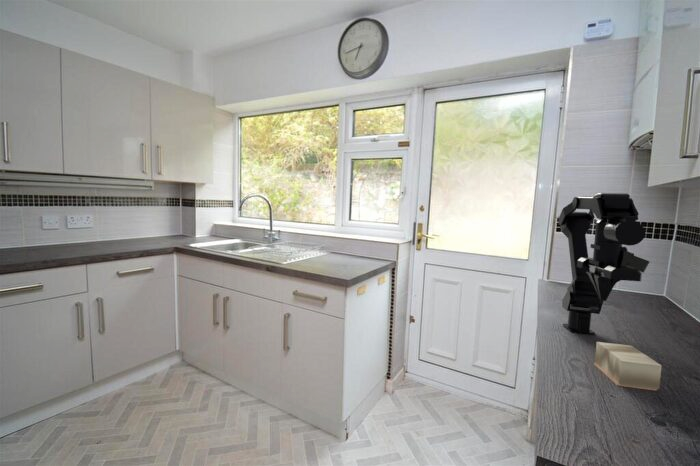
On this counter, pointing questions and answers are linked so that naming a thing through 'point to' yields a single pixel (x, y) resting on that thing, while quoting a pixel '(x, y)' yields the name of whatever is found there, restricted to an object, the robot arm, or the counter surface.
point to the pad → (617, 382)
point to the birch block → (628, 365)
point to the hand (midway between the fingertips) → (602, 300)
